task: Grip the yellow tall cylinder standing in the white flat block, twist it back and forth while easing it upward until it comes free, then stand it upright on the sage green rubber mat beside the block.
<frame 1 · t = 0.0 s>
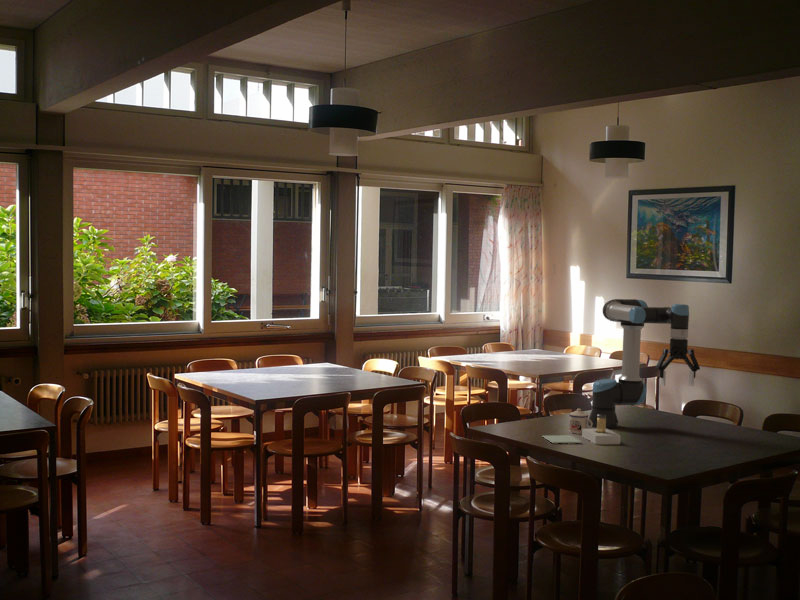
hand: (677, 385, 370), 28 cm above the table, tool pointing down, fingers open, 13 cm apart
white flat block: (600, 440, 380), on the table
teacup with lid: (580, 433, 396), on the table
mat: (561, 440, 377), on the table
yellow tall cylinder: (601, 427, 380), in the white flat block
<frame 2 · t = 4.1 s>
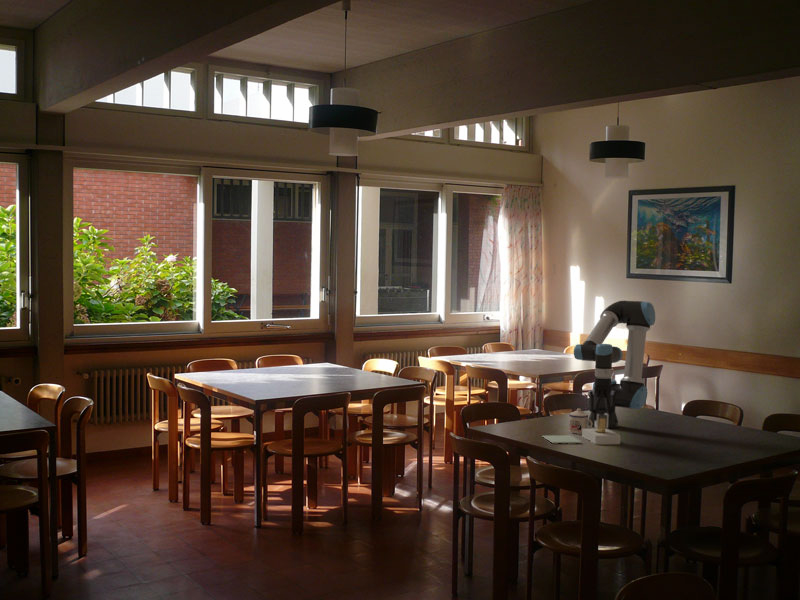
hand: (601, 427, 380), 6 cm above the table, tool pointing down, fingers closed on yellow tall cylinder, 4 cm apart
yellow tall cylinder: (601, 427, 380), in the white flat block, touching gripper
everything else where it was.
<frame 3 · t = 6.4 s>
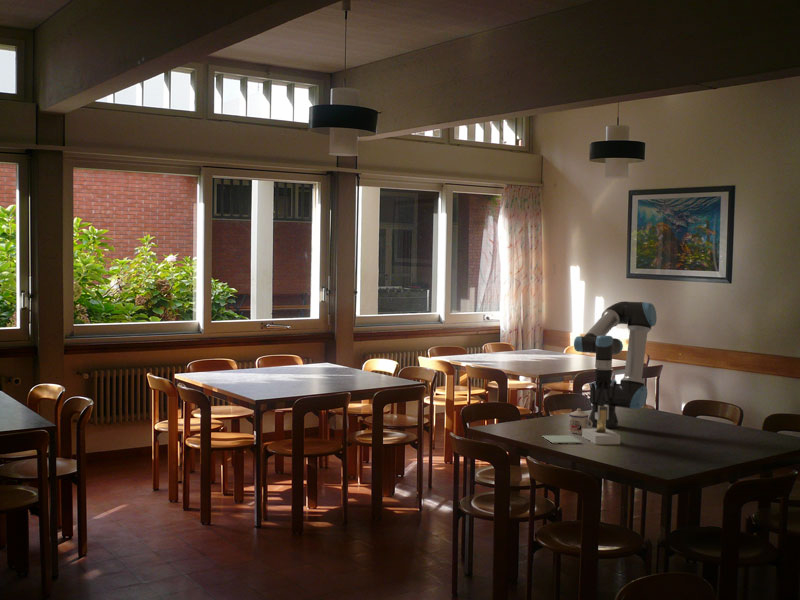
hand: (601, 419, 380), 10 cm above the table, tool pointing down, fingers closed on yellow tall cylinder, 4 cm apart
yellow tall cylinder: (601, 419, 380), point 10 cm above the table, touching gripper
everything else where it was.
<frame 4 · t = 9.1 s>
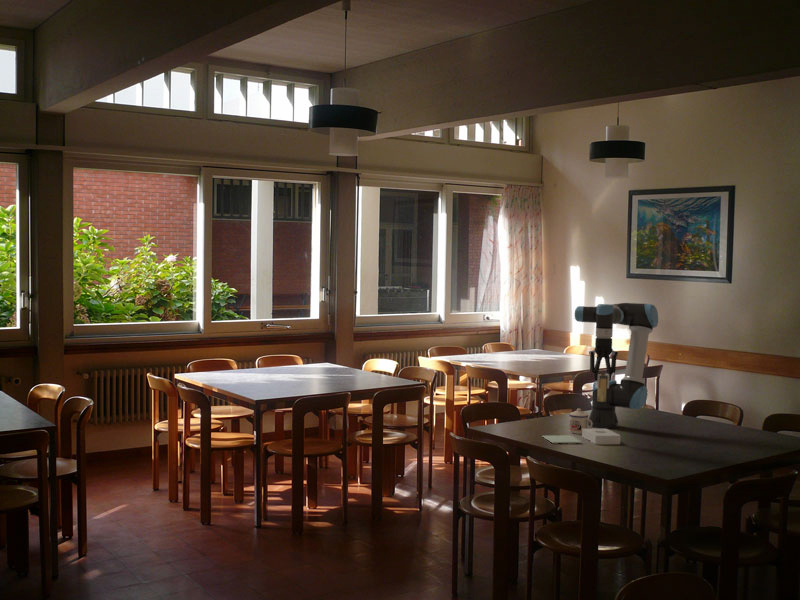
hand: (602, 387, 379), 25 cm above the table, tool pointing down, fingers closed on yellow tall cylinder, 4 cm apart
yellow tall cylinder: (602, 388, 379), point 24 cm above the table, touching gripper
everything else where it was.
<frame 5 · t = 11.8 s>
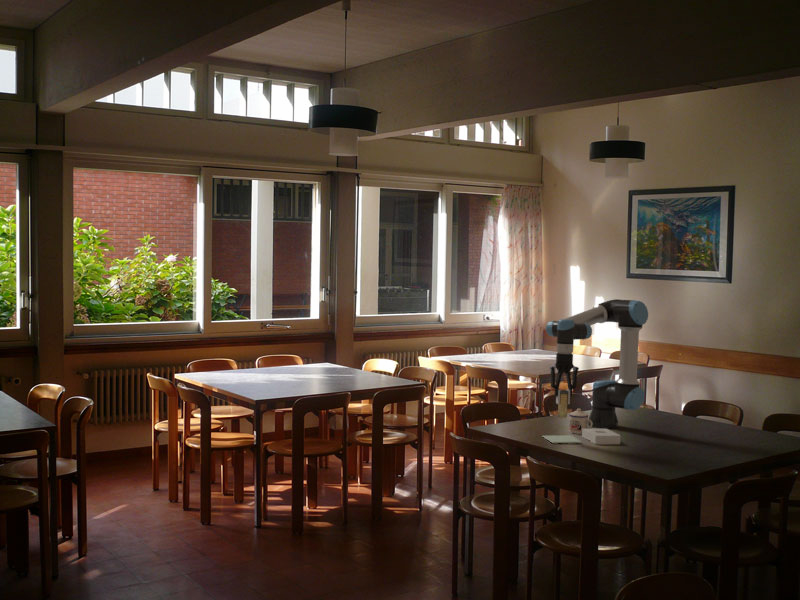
hand: (562, 403, 376), 17 cm above the table, tool pointing down, fingers closed on yellow tall cylinder, 4 cm apart
yellow tall cylinder: (562, 403, 376), point 17 cm above the table, touching gripper
everything else where it was.
when the fingers open (8 cm above the table, at t = 14.1 s): yellow tall cylinder stays where it is, resting on mat.
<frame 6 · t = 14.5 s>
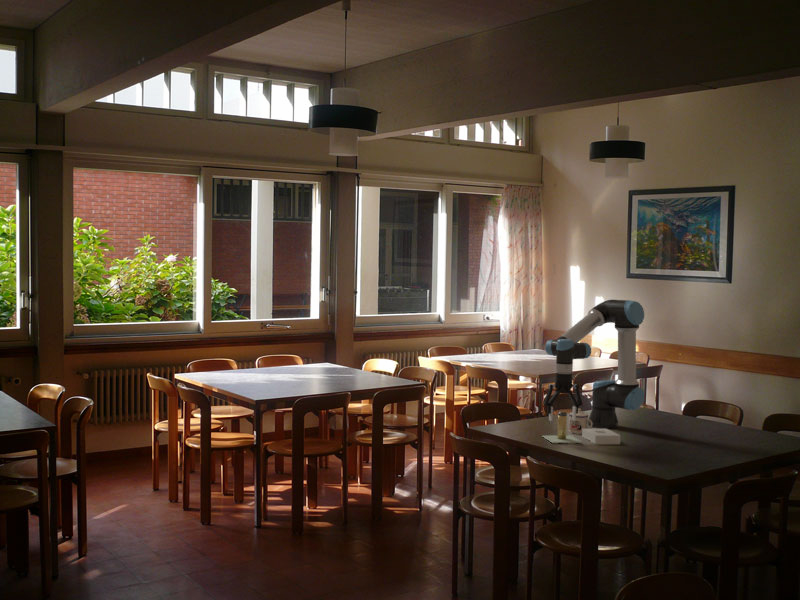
hand: (562, 420, 377), 9 cm above the table, tool pointing down, fingers open, 10 cm apart
yellow tall cylinder: (562, 425, 377), on the mat, point 7 cm above the table
everything else where it was.
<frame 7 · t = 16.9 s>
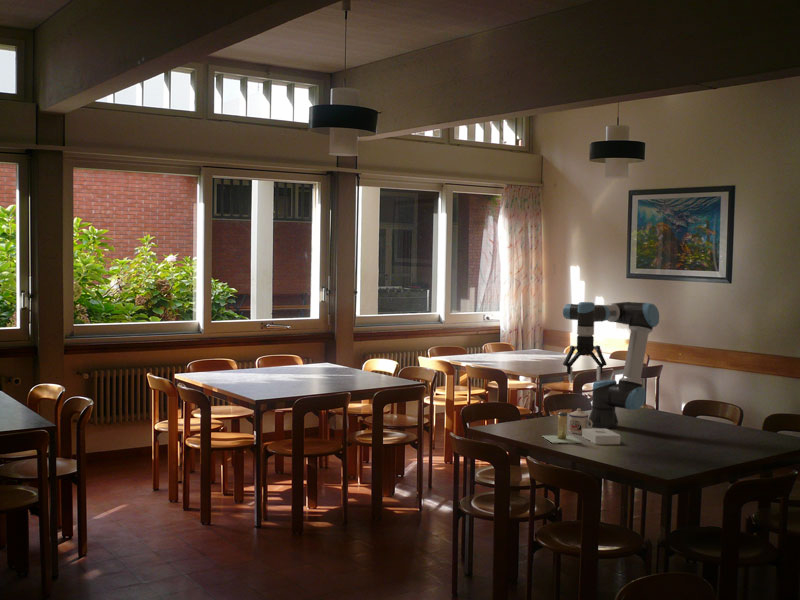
hand: (584, 380, 381), 27 cm above the table, tool pointing down, fingers open, 13 cm apart
nothing on the table moved.
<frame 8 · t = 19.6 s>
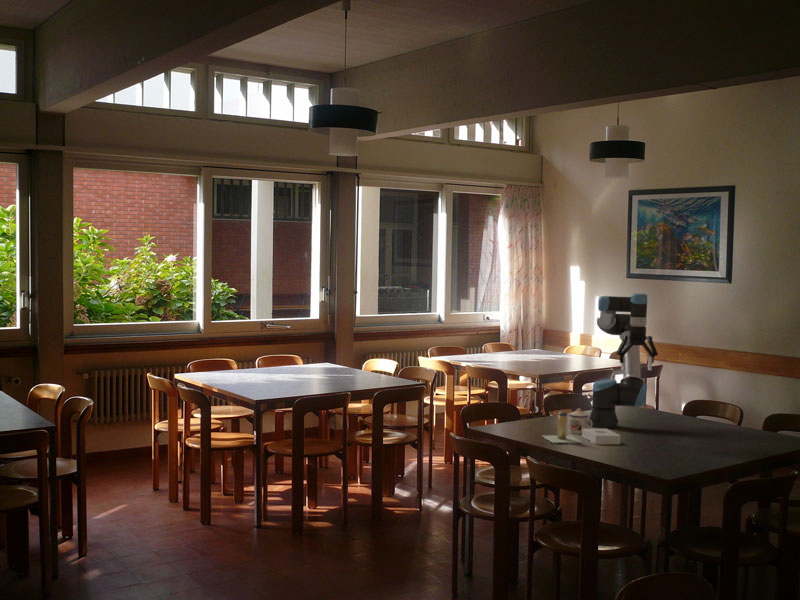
hand: (636, 370, 392), 32 cm above the table, tool pointing down, fingers open, 13 cm apart
nothing on the table moved.
at the end: yellow tall cylinder inside the target area on the mat (0.0 cm from its centre), point 7.0 cm above the mat's base; yellow tall cylinder tilted 0°; the gripper is holding nothing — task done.
